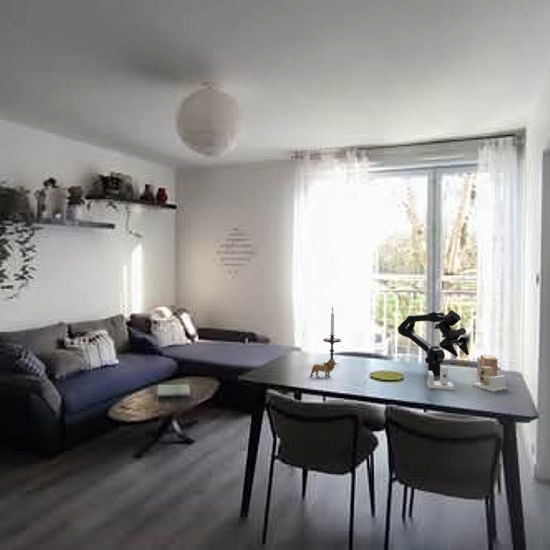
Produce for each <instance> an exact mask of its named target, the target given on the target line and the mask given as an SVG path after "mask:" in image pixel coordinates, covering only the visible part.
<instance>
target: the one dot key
mask: <svg viewBox="0 0 550 550" xmlns="http://www.w3.org/2000/svg"><path fill="white" fill-rule="evenodd" d="M439 381H440V382H441V384H448V382H449V367H448V366H447V365H441V364H440V375H439Z"/></svg>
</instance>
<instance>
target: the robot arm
mask: <svg viewBox="0 0 550 550" xmlns="http://www.w3.org/2000/svg"><path fill="white" fill-rule="evenodd" d="M461 319H462V317H461V315H460V314H458V313H457V312H455V311H454V310H450V311H449V312H448V313H447V314H445V313H444V312H443V311H432V312H429V313H427V314H418V315H417V314H416V315H408V316H407V317H406V318H405V319H404V320H403V321H402V322H401V323H400V325H399V326H398V327H397V332H398V334H399V335H400V336H403V337H404V338H405V337H406V338H408V339H410V340H411V341H412V342H413V343H415V344H416V346H418V347H419V348H420V349H422V350H423V351H424V352H425V354H426V356H427V357H426V358H424V361H425V363H426V364H427V374H428V371H432V372H433V374H434V375H435V376H440V365H441V364H442V363H443V362H444V359H445V358H446V356H445V355H446V354H445V352H444V350H445V351H447V352H448V353H450V354H451V355H453V356H454V357H458V356H459V353H458V352H457V350H456V349H455V346H454V345H455V344H456V346H457V347H458V349H460V350H461V351H462V352H463V353H464V354H465V355H466V356H469V355H470V353H469V348H468V343H469V341H470V338H469V337H468V336H466V333H467V329H466V328H465V327H461V328H459V329H453V328H452V327H454V326H455V325H456V324H457V323H459V322H460V321H461ZM416 322H417V323H418V322H430V323H434V324H435V323H436V324H435V326H434V329H435V330H438V329H439V331H440V333H441V334H442V335H441V337H442V338H443V339H442V340H440V342H439V346H438V345H434V346H433V345H432V344H430V343H429V342H428V341H426V340H425V339H424V338H423V337H421V336H420V335H419V334H417V333H416V330H415V325H416Z"/></svg>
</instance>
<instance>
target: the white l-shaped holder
mask: <svg viewBox="0 0 550 550" xmlns="http://www.w3.org/2000/svg"><path fill="white" fill-rule="evenodd" d="M473 386H476V387H475V388H477V387H479V388H478V389H481V388H483V389H482V390H485V389H487V390H486V391H489V390H490V391H489V392H498V391H497V390H499V391H503V390H502V389H505V390H507V376H506V375H503V374H502V375H497V376H494V377H489V384H482V383H480V381H479V382H475V383H474V382H473V383H472V387H473Z"/></svg>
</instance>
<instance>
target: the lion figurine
mask: <svg viewBox="0 0 550 550" xmlns="http://www.w3.org/2000/svg"><path fill="white" fill-rule="evenodd" d="M328 360H329V361H328V362H327V363H324V364H318V363H317V364H314V365H313V366H312V368H311V373H310V375H309V377H314V374H315V376H316V378H320V376H319V372H322V373H324V376H325V377H328V378H331V375H330V374H331V373H330V372H332V371H333V369H334V368H335V365H336V364H335V362H334V360H335V359H334V360H330V359H328Z"/></svg>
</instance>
